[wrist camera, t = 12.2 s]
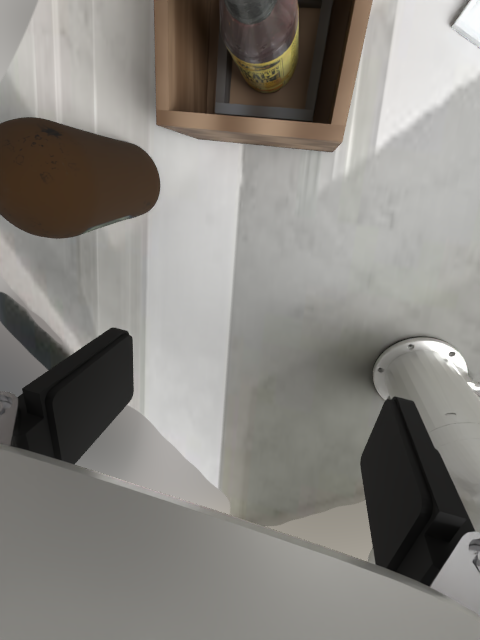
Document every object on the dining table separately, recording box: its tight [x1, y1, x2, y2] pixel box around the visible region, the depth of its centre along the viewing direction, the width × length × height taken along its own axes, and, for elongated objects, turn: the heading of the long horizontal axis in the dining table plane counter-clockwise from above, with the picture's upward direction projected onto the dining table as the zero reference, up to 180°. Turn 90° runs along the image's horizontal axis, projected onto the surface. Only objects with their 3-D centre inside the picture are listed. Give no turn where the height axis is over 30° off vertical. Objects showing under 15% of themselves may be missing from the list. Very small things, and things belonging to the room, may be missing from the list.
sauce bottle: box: [219, 0, 299, 93], centre depth 25 cm, size 7×6×20 cm
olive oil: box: [0, 117, 160, 238], centre depth 32 cm, size 11×11×25 cm
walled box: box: [154, 0, 373, 152], centre depth 29 cm, size 17×16×12 cm
